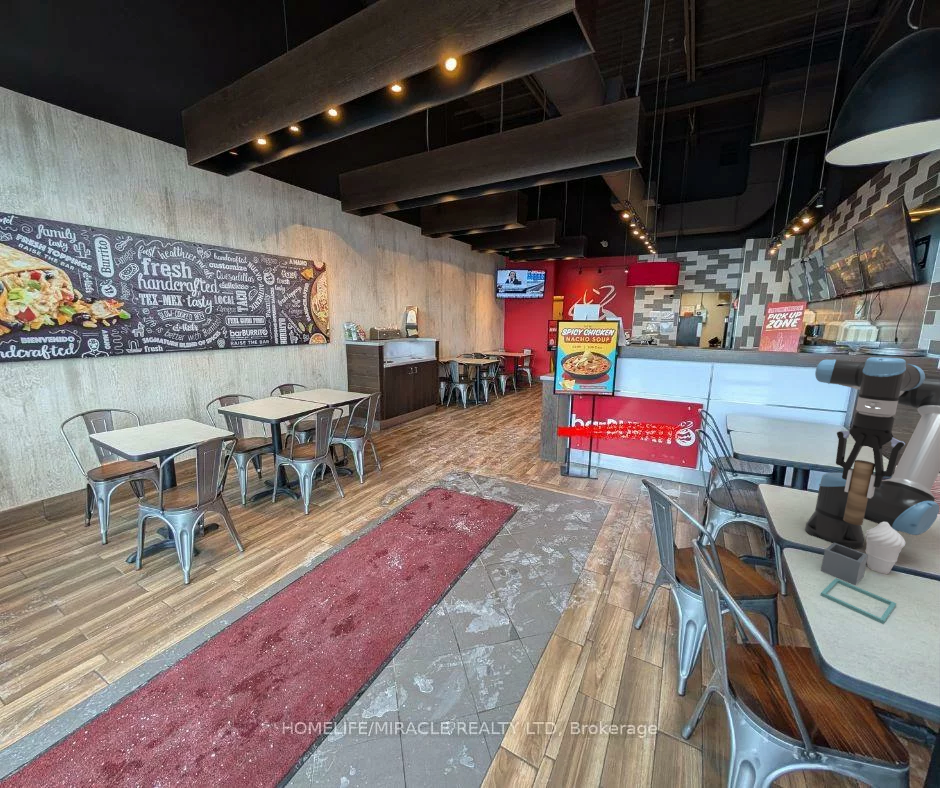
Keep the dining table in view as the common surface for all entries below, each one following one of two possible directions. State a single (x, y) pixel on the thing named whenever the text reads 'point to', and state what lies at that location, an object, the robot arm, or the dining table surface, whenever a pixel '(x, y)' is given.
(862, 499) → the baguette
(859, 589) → the tray
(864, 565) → the open box
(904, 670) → the dining table surface
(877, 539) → the soft serve ice cream cone
